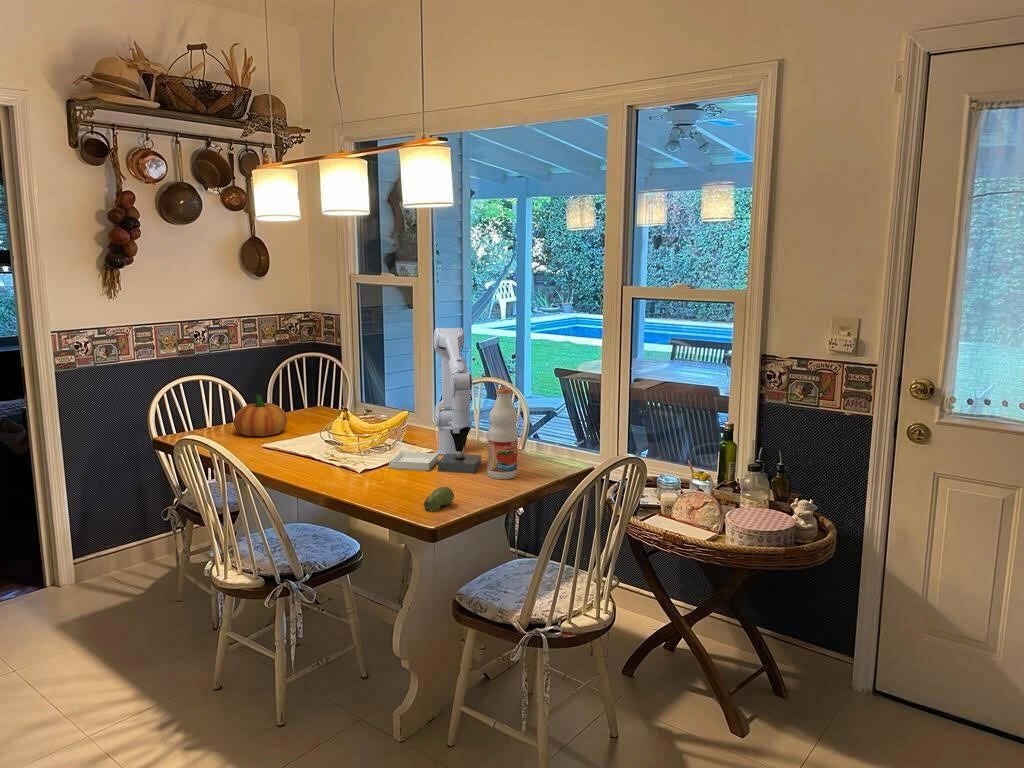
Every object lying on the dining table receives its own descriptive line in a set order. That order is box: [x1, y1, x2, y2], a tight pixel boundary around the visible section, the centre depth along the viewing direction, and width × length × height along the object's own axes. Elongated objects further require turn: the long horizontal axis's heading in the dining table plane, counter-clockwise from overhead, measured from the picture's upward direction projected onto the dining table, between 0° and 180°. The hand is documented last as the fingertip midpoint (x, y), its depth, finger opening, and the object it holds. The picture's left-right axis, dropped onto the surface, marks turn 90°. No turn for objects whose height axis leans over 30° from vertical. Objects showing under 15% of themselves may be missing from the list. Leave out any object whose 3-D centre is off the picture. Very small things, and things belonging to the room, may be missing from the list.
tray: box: [388, 450, 439, 472], centre depth 258 cm, size 13×13×3 cm
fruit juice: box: [486, 387, 519, 480], centre depth 246 cm, size 9×9×28 cm
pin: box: [457, 448, 465, 460], centre depth 256 cm, size 2×2×8 cm
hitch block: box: [437, 453, 482, 474], centre depth 256 cm, size 12×12×3 cm
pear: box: [423, 486, 455, 512], centre depth 216 cm, size 6×5×10 cm
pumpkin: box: [233, 394, 288, 438], centre depth 297 cm, size 19×19×15 cm
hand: (460, 450), depth 256 cm, fingers closed on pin, 2 cm apart
